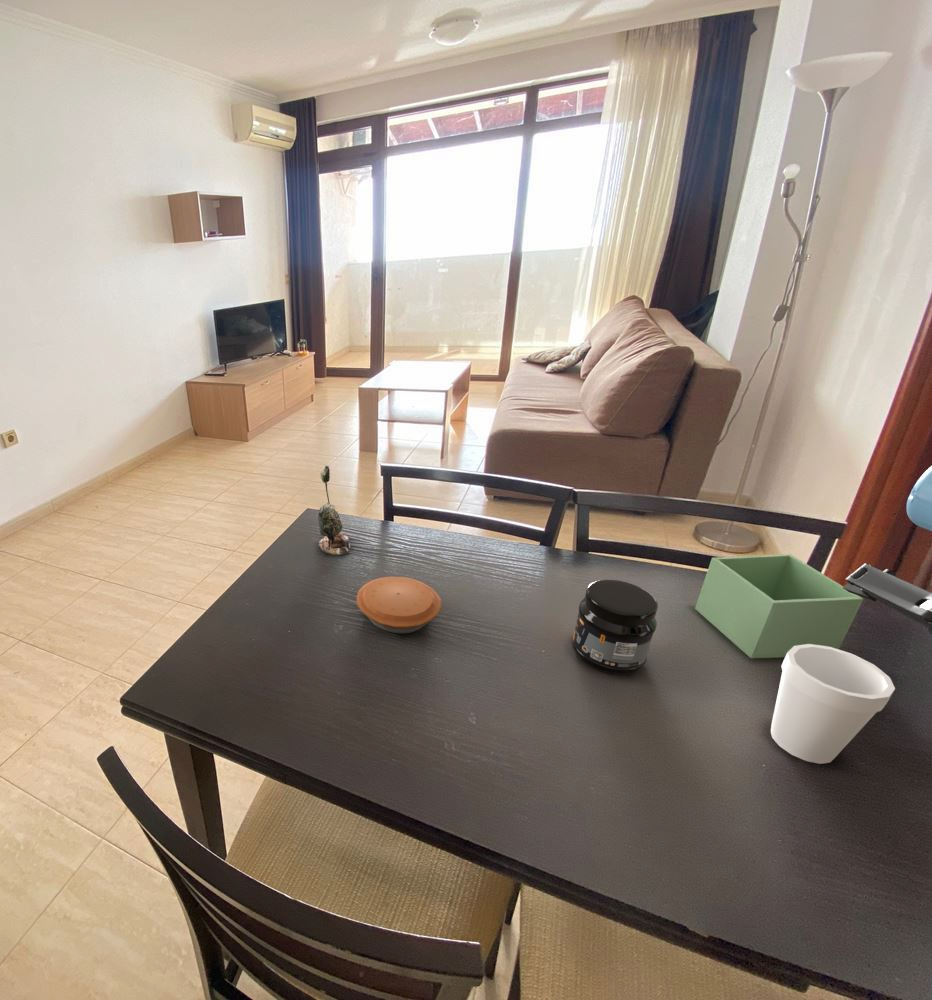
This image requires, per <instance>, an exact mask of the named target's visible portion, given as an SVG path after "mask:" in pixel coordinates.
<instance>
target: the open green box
mask: <svg viewBox="0 0 932 1000" xmlns="http://www.w3.org/2000/svg"><path fill="white" fill-rule="evenodd" d="M843 587H844V586H843V585H842V584H840V583H839V582H837V581H835V580H834V579H832V578H830V577H828V576H827V575H825V574H824V573H822V572H821V571H818V570H817V569H816V568H814V567H812V566H811V565H809V564H807V563H806V562H804V561H802V560H801V559H799V558H797V557H796V556H795V555H792V554H791V553H785V554H784V553H783V554H782V553H781V554H764V555H762V554H761V555H742V556H721V557H720V556H719V557H711V560H710V562H709V566H708V568H707V571H706V575H705V578H704V580H703V583H702V587H701V590H700V592H699V596H698V599H697V601H696V605H695V608H694V609H695V610H696V611H697V612H698V613H699V614H700V615H701V616H702V617H704V618H705V619H706V620H707V621H708V622H709V623H710V624H711V625H712V626H714V627H715V628H716V629H717V630H718V631H720V633H722V634H723V635H724V636H725V637H726V638H727V639H729V640H730V641H731V642H732V643H733V644H734V645H735V646H736V647H737V648H738V649H740V650H741V651H742V652H743V653H744V654H745V655H746V656H748V657H749V658H750V659H771V658H772V659H773V658H775V659H776V658H785V657H786V654H787V652H788V651H789V650H790V649H791V648H792V647H794V646H797V645H804V644H814V645H821V646H828V647H832V648H835V649H839V650H840V648H841V645H842V644H843V642H844V640H845V637H846V636H847V633H848V632H849V631H850V630H849V629H850V627H851V625H852V623H853V621H854V619H855V617H856V615H857V614H858V612H859V610H860V607H861V605H862V603H863V601H864V597H861V596H858V595H855V594H852V593H850V592H848V591H846V590H845V589H843Z"/></svg>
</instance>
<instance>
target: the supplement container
mask: <svg viewBox="0 0 932 1000" xmlns="http://www.w3.org/2000/svg"><path fill="white" fill-rule="evenodd" d="M658 608H659V604H658V601H657V599H656V598H655V597H654V595H652V594H651V593H650V592H649V591H648V590H646V589H644V588H642V587H641V586H639V585H636V584H633V583H630V582H627V581H623V580H617V579H601V580H600V579H599V580H596V581H593V582H591V583H590V584H588V586H587V587H586V590H585V594H584V598H583V599H582V600H581V601H580V603H579V604H578V614H577V618H576V622H575V627H574V632H573V636H572V639H571V646H572V650H573V652H574V653H575V654H576V656H577V657H578V658H579V659H580V660H581V661H582V662H583V663H585V664H586V665H588V666H590V667H591V668H593V669H595V670H598V671H601V672H603V673H606V674H611V675H619V676H625V675H632V674H635V673H637V672H639V671H641V670H642V669H643V668H644V666H645V664H646V661H647V655H648V652H649V649H650V645H651V643H652V639H653V636H654V633H655V631H656V629H657V627H658V625H657V624H658V622H657V618H656V616H657V615H656V614H657V612H658Z"/></svg>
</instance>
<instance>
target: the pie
mask: <svg viewBox="0 0 932 1000" xmlns="http://www.w3.org/2000/svg"><path fill="white" fill-rule="evenodd" d="M356 603H357V607H358V609H359V610H360V611H361V613H362V614H363V615H365V616H366V617H367V618H368V620H369V621H370V622H371V623H372V624H373V625H374V626H376V627H377V628H378V629H381V630H383V631H385V632H389V633H393V634H409V633H414V632H417V631H419V630H421V629H422V628H423V627H425V626H426V625H427V624H428V623H429V622H430V621H432V620H433V619H435V618H437V617H438V614H439V612H440V610H441V606H442V599H441V598H440V596H439V594H438V593H437V592H436V591H435V590H434V589H433V588H432V587H431V586H429V585H427V584H426V583H424V582H422V581H419V580H417V579H415V578H411V577H404V576H386V577H379V578H376V579H373V580H370V581H368V582H367V583H366V584H364V585H362V587H360V589H359V590H358V591H357V595H356Z"/></svg>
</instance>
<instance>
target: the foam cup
mask: <svg viewBox="0 0 932 1000" xmlns="http://www.w3.org/2000/svg"><path fill="white" fill-rule="evenodd" d="M780 667H781V671H782V672H781V676H780V681H779V685H778V687H779V688H778V691H777V696H776V701H775V705H774V711H773V715H772V720H771V725H770V734H771V738H772V739H773V740H774V742H775V743H776V744H777V745H778V746H779V747H780V748H781V749H782V750H784V751H786V752H787V753H789V754H790V755H791V756H794V757H796V758H798V759H800V760H803V761H805V762H809V763H813V764H819V765H821V764H822V765H823V764H829V763H832V761H833V760H835V759H836V757H838V755H839V754H840V753H842V751H843V750H844V749H845V747H847V745H848V744H849V743H850V742H851V741H852V740H854V738H855V737H856V736H857V734H858V733H860V731H862V729H863V728H864V727H865V725H867V723H868V722H869V721H870V720H871V719H872V718H873V717H874V716H875V715H876V714H877V713H880V712H882V711H883V710H884V708H885V706H887V704H888V703H889V701H890V699H891V697H892V695H893V693H894V692H895V690H896V687H895V685H894V683H893V680H892V679H891V677H890V676H889V675H887V673H885V672H884V671H883V670H882V669H880V667H878V666H877V665H876V664H874V663H872V662H870V661H868V660H865V658H862V657H859V656H858V655H856V654H853V653H851V652H848V651H845V650H842V649H840V648H839V649H835V648H832V647H828V646H821V645H814V644H804V645H797V646H794V647H792V648H791V649H790V650H789V651H788V652H787V654H786V657H784V659H783V661H782V664H781V666H780Z"/></svg>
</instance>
